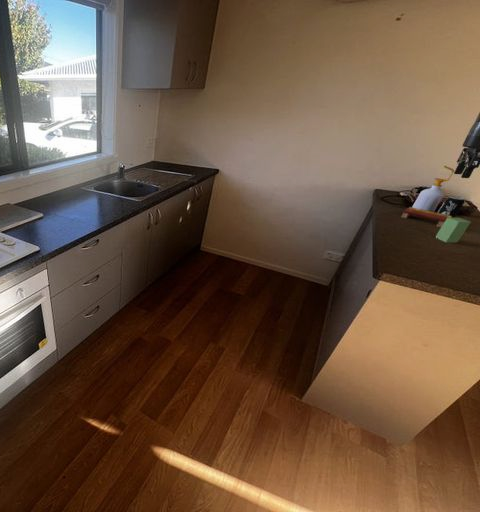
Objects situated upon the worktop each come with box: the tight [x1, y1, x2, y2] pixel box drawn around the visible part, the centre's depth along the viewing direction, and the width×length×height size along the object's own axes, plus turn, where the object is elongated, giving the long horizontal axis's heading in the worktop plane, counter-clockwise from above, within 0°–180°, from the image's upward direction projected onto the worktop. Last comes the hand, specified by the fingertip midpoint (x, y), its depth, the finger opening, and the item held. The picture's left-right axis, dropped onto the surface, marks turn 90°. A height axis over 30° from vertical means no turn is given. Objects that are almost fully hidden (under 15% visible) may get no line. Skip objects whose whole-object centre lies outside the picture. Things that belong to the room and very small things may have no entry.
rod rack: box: [400, 206, 452, 228], centre depth 151 cm, size 16×7×5 cm, turn 28°
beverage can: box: [436, 195, 466, 218], centre depth 151 cm, size 7×7×12 cm
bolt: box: [458, 204, 476, 216], centre depth 164 cm, size 6×5×15 cm
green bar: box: [435, 217, 472, 243], centre depth 130 cm, size 5×5×10 cm
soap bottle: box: [411, 165, 455, 212], centre depth 160 cm, size 9×9×25 cm
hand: (461, 176), depth 121 cm, fingers open, 8 cm apart
